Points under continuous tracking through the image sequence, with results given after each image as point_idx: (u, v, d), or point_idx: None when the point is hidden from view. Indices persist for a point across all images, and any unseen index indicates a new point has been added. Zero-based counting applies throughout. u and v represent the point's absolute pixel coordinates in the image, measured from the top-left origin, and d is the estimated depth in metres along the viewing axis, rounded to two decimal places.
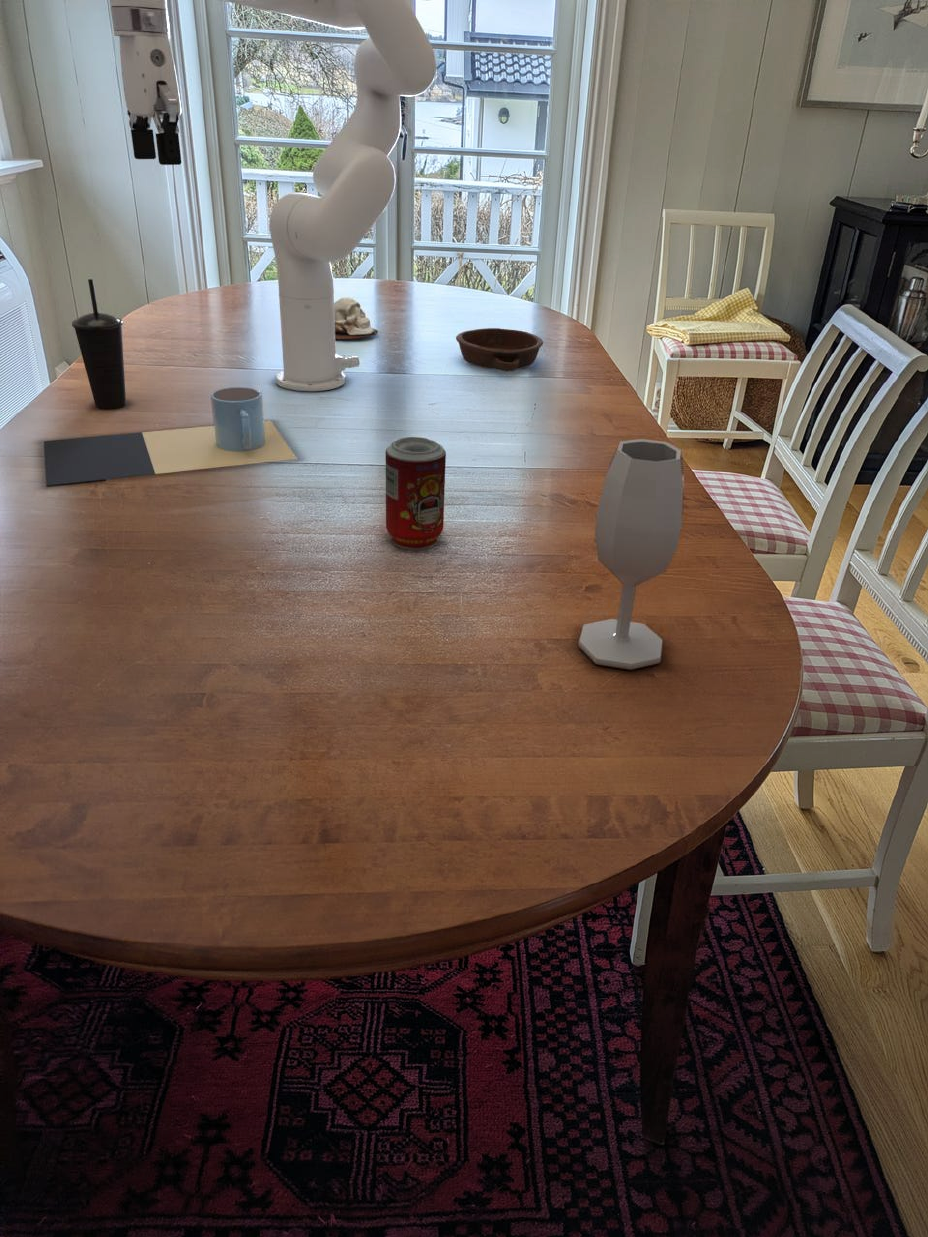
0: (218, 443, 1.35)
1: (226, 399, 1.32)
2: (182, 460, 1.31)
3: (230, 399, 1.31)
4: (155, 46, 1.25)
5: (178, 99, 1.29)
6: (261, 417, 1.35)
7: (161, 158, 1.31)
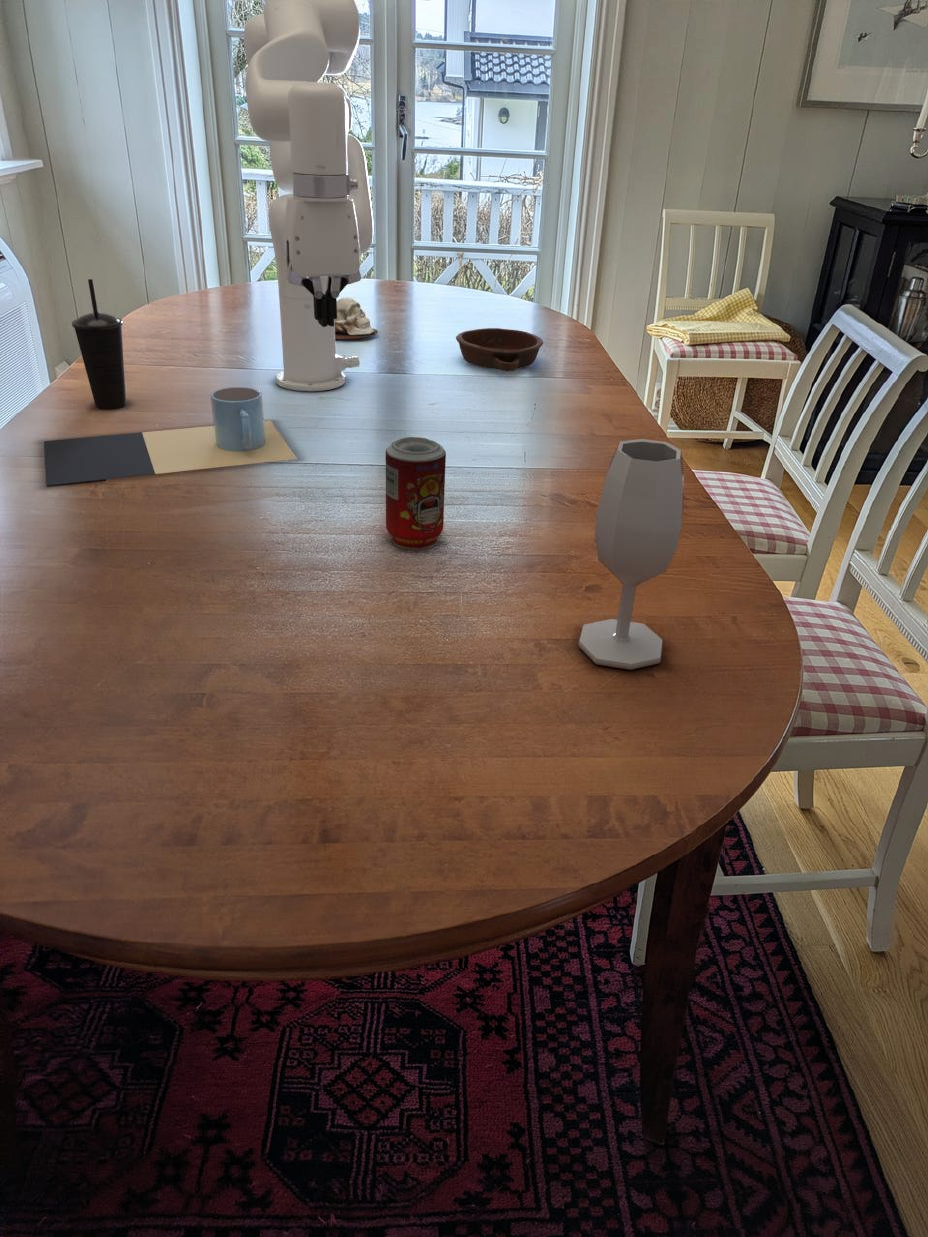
0: (218, 443, 1.35)
1: (226, 399, 1.32)
2: (182, 460, 1.31)
3: (230, 399, 1.31)
4: None
5: None
6: (261, 417, 1.35)
7: (333, 320, 1.33)
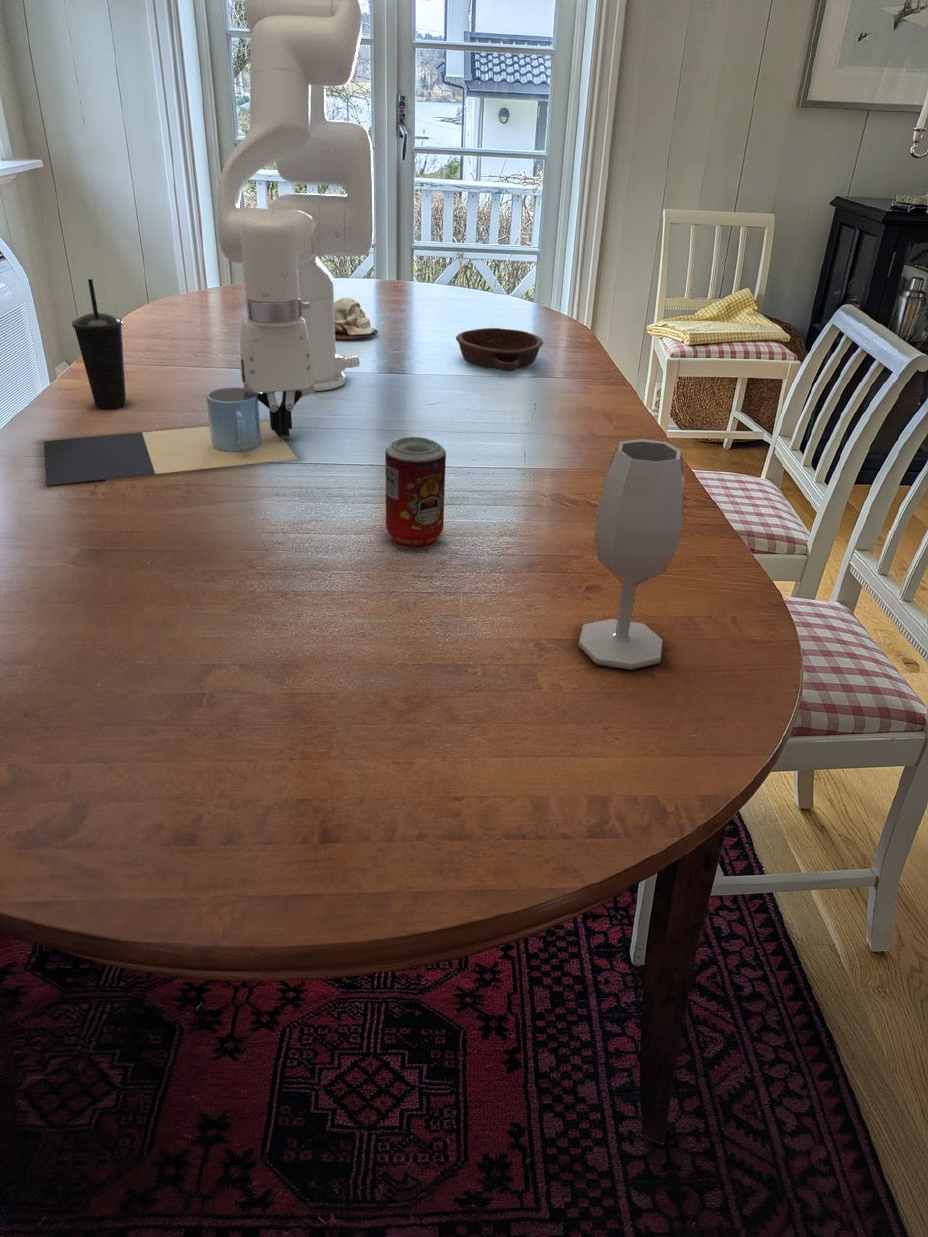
0: (213, 444, 1.35)
1: (222, 399, 1.31)
2: (182, 460, 1.31)
3: (225, 400, 1.31)
4: None
5: None
6: (257, 418, 1.35)
7: (288, 431, 1.38)
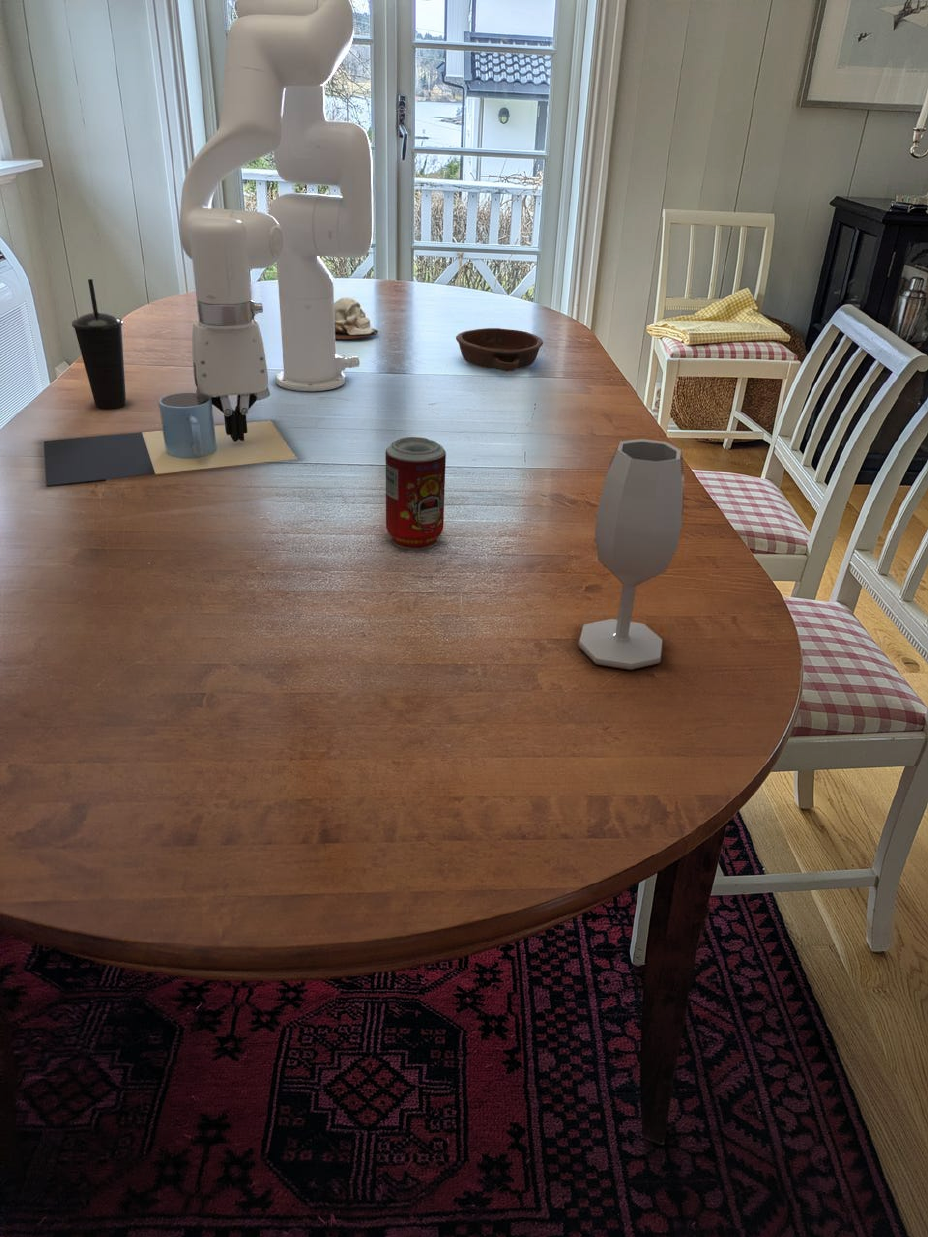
0: (167, 451, 1.32)
1: (175, 405, 1.28)
2: (182, 460, 1.31)
3: (178, 405, 1.28)
4: None
5: None
6: (211, 423, 1.32)
7: (243, 435, 1.36)
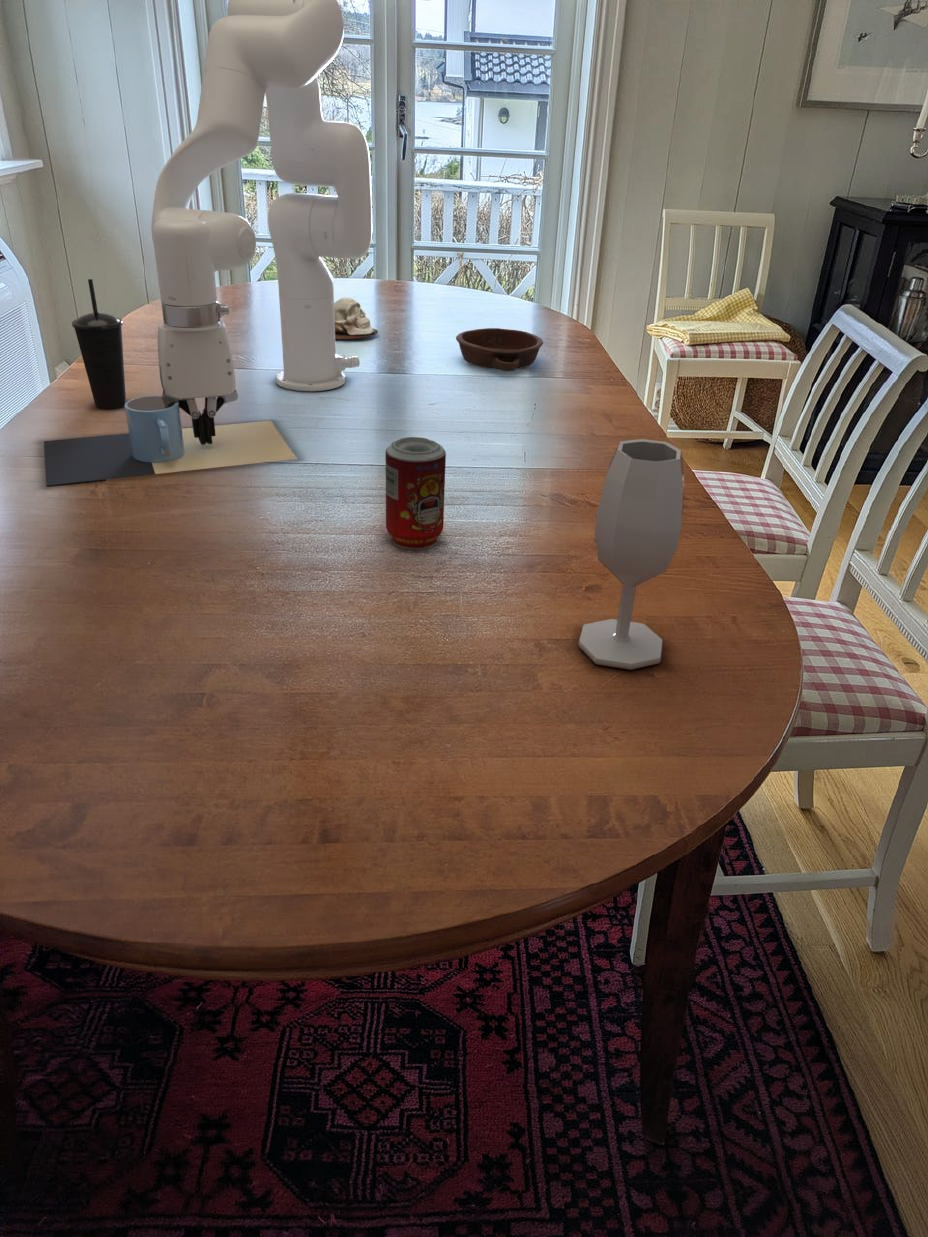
0: (135, 455, 1.30)
1: (142, 409, 1.26)
2: (182, 460, 1.31)
3: (145, 409, 1.26)
4: None
5: None
6: (179, 426, 1.30)
7: (211, 438, 1.34)
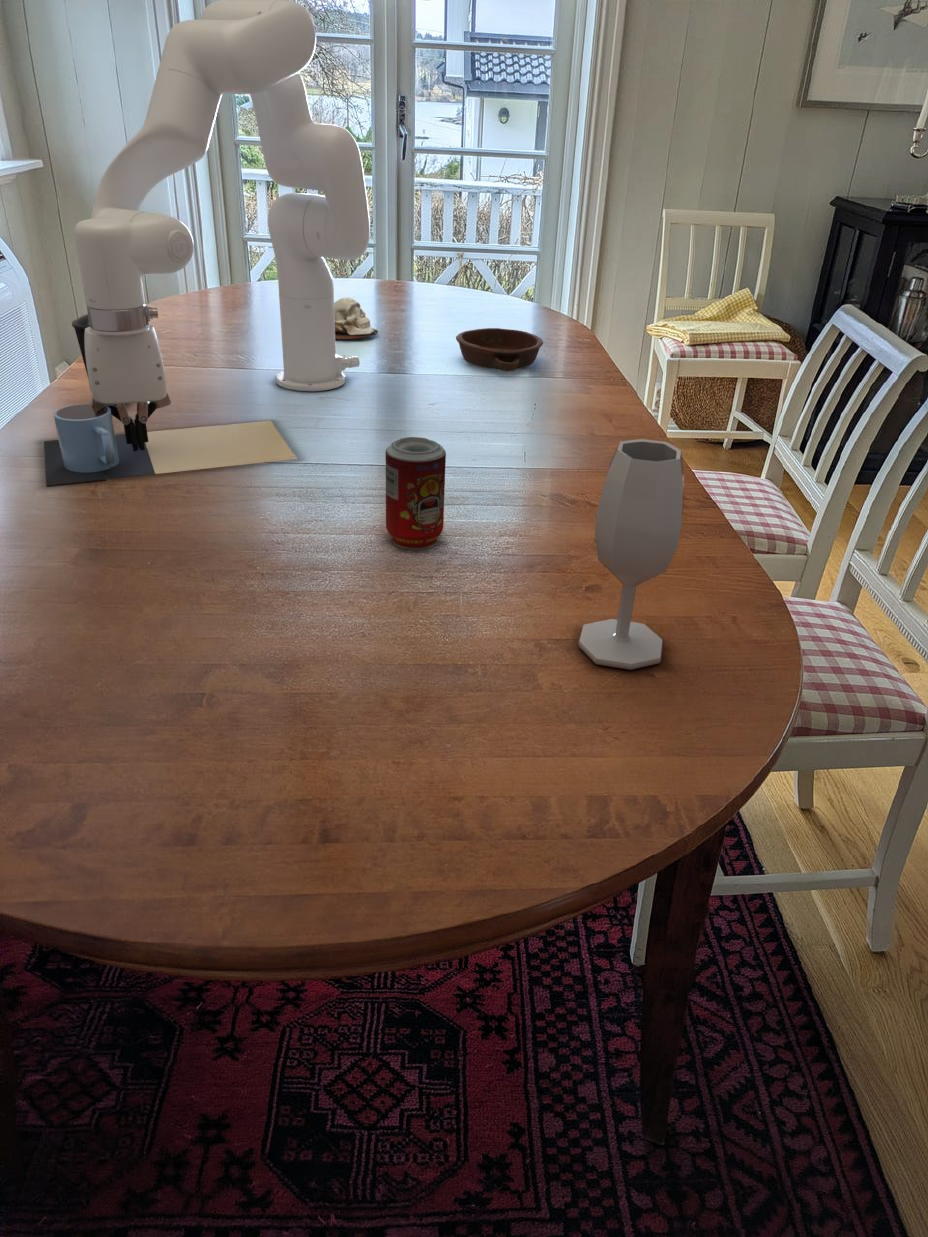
0: (70, 467, 1.25)
1: (76, 417, 1.22)
2: (182, 460, 1.31)
3: (80, 418, 1.22)
4: (156, 335, 1.26)
5: None
6: (114, 433, 1.27)
7: None
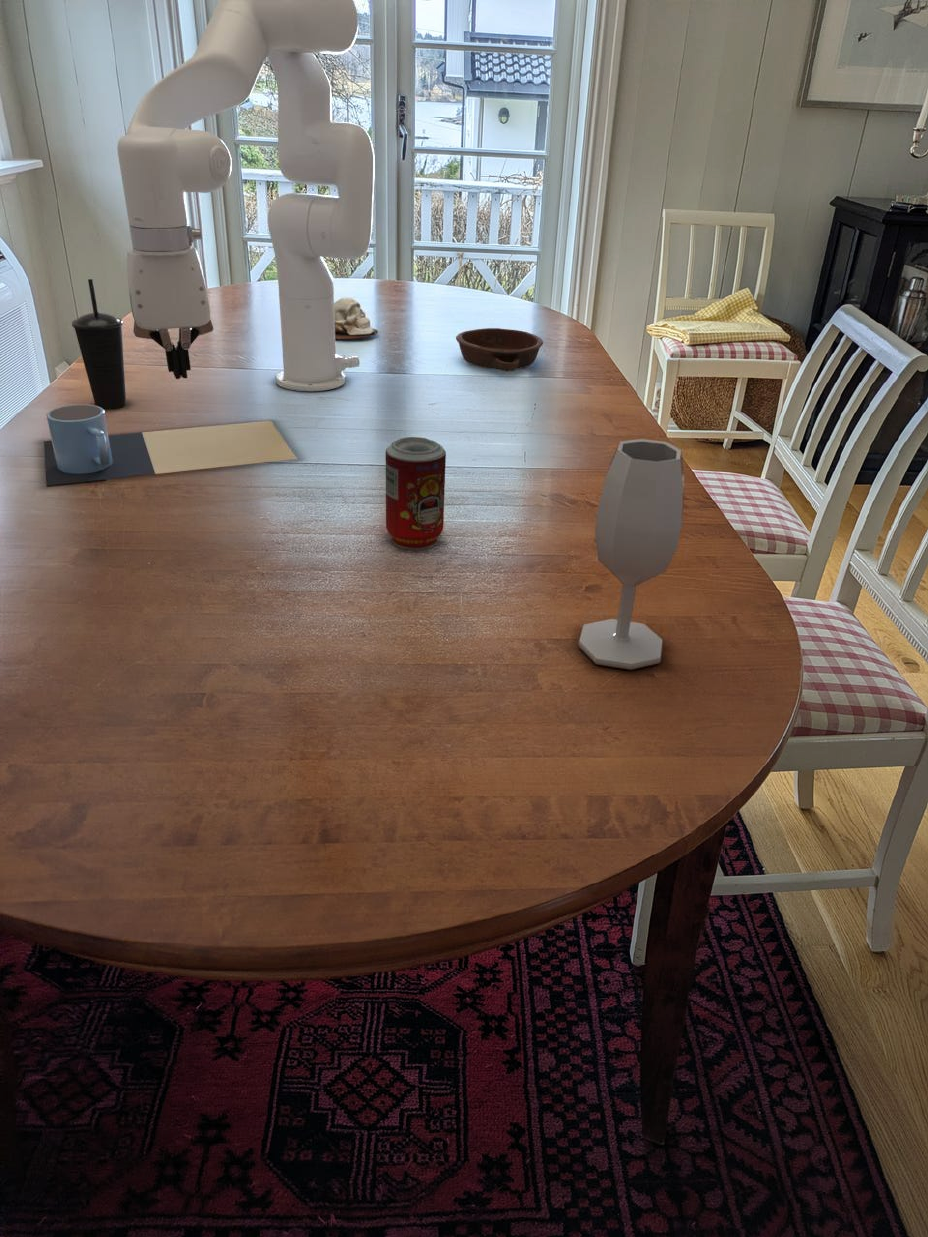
0: (63, 468, 1.25)
1: (70, 418, 1.22)
2: (182, 460, 1.31)
3: (74, 418, 1.22)
4: None
5: None
6: (107, 433, 1.27)
7: None
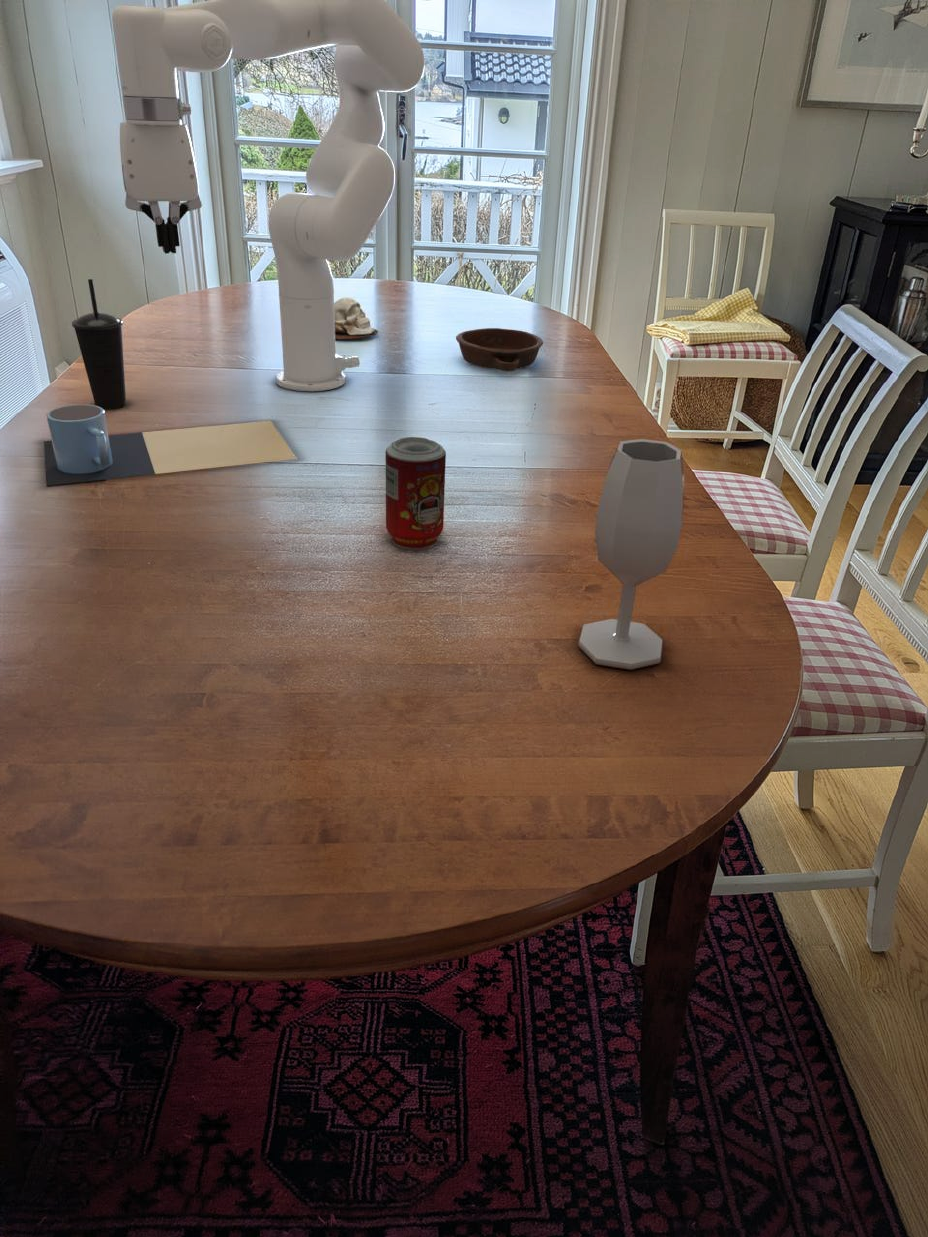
0: (63, 468, 1.25)
1: (70, 418, 1.22)
2: (182, 460, 1.31)
3: (74, 418, 1.22)
4: None
5: None
6: (107, 433, 1.27)
7: None
